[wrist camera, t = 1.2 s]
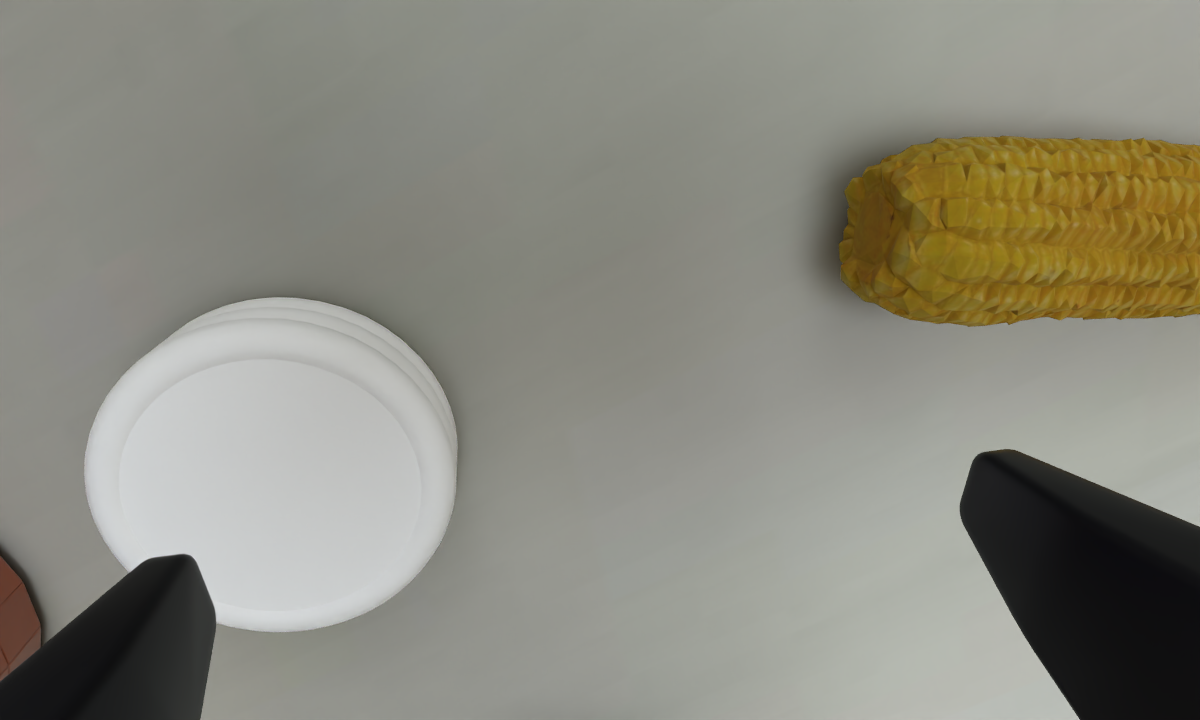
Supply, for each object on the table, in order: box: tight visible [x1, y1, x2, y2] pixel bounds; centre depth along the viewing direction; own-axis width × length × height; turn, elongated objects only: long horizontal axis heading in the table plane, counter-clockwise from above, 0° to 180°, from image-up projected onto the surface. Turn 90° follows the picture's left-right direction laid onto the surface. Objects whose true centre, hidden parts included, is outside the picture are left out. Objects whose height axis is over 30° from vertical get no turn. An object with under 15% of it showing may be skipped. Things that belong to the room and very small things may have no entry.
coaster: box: [84, 297, 458, 632], centre depth 22 cm, size 10×10×4 cm
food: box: [839, 136, 1200, 327], centre depth 23 cm, size 21×6×6 cm, turn 89°
